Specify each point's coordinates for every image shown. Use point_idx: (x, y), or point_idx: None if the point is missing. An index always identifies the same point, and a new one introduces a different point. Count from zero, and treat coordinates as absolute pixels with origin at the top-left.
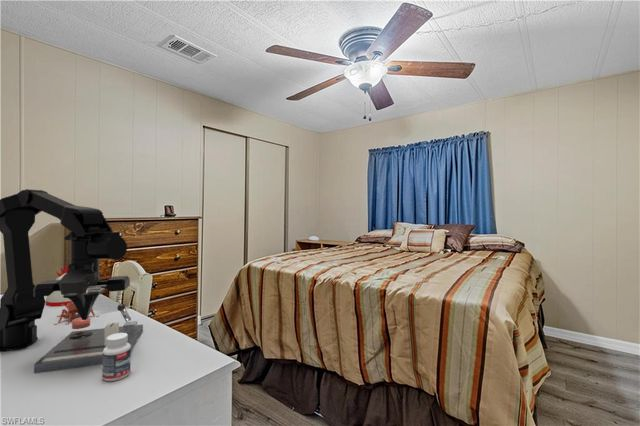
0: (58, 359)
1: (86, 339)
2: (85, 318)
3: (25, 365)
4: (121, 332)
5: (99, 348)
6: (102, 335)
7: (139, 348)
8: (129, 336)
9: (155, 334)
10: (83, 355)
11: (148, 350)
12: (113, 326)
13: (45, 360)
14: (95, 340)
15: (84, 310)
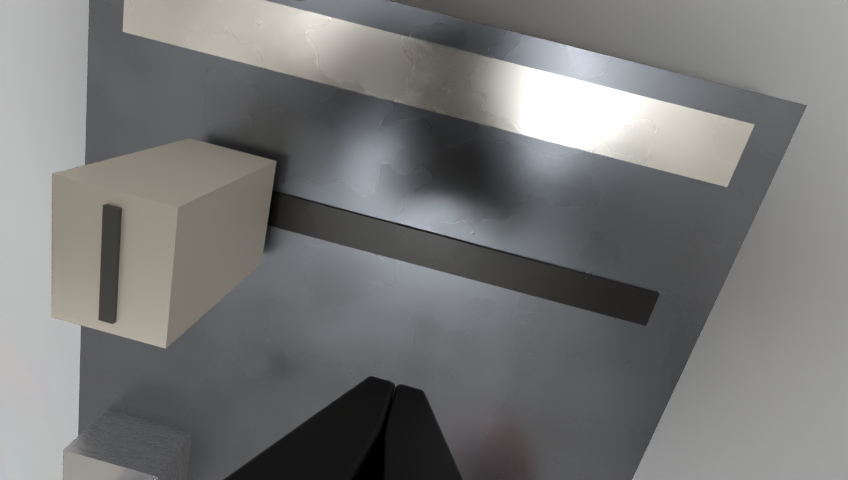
0: (622, 91)
1: None
2: (372, 384)
3: (816, 295)
4: (204, 444)
5: (322, 177)
6: None
7: (78, 156)
8: None
9: (14, 369)
10: (430, 68)
11: (4, 72)
12: (75, 182)
13: (721, 133)
14: None
15: (345, 478)
